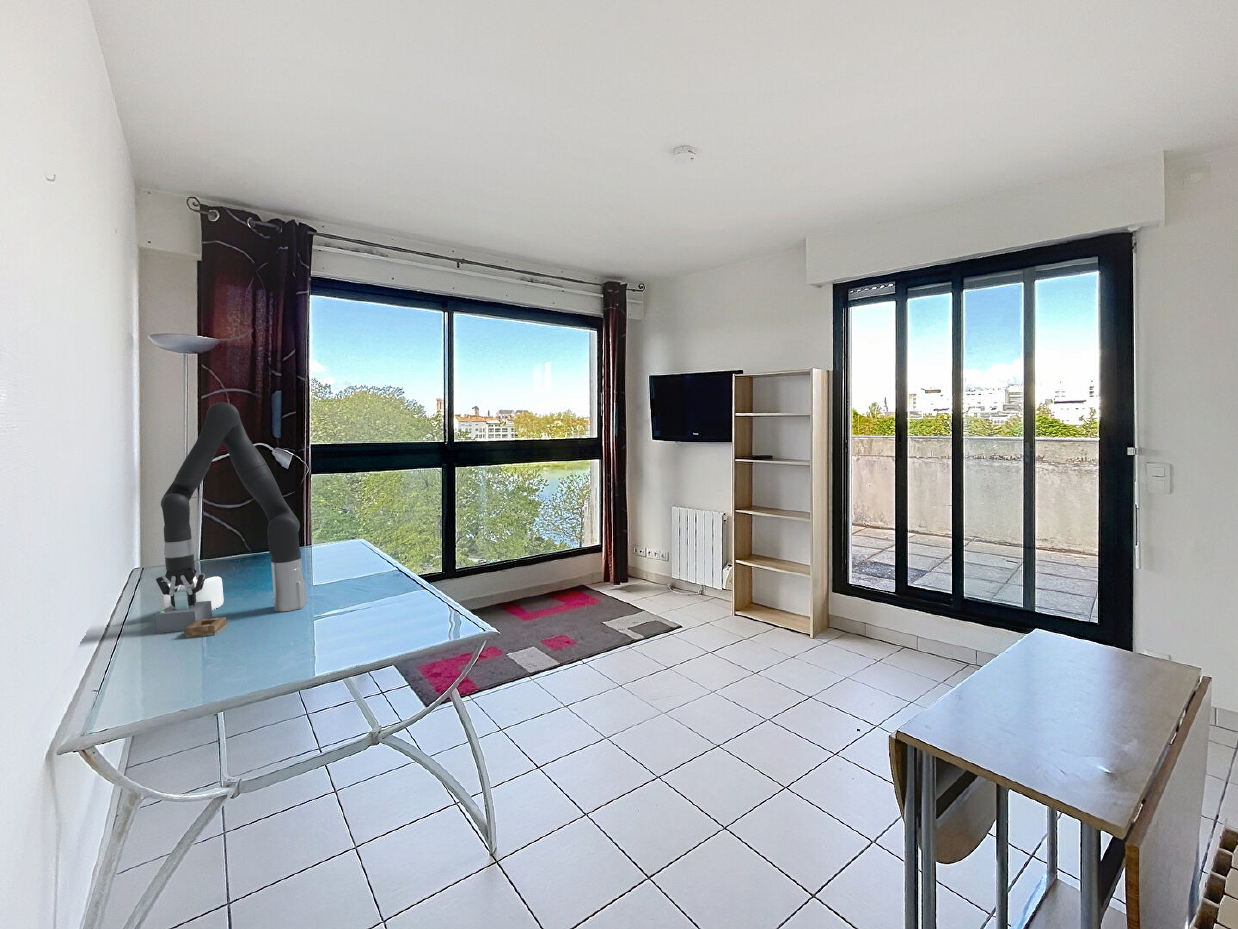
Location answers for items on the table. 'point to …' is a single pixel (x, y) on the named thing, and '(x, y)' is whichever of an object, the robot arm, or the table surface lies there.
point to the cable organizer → (200, 593)
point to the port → (182, 617)
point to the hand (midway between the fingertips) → (183, 605)
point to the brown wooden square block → (205, 627)
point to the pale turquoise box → (181, 600)
